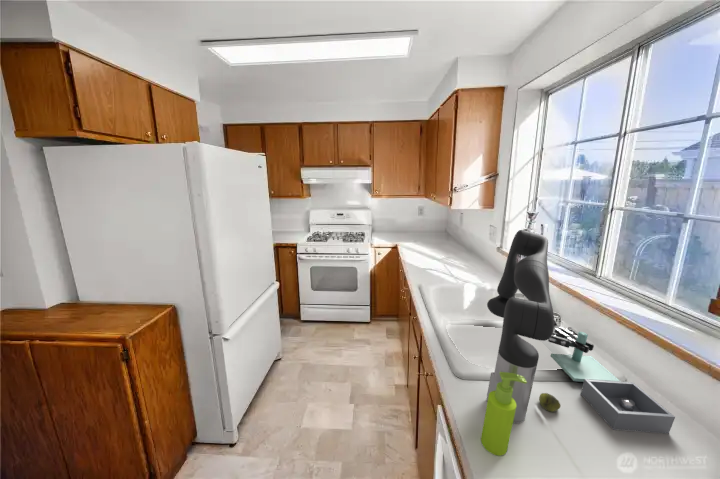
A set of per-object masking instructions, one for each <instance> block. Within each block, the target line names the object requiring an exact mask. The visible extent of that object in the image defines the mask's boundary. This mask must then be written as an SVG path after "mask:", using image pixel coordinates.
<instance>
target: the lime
mask: <svg viewBox="0 0 720 479" xmlns="http://www.w3.org/2000/svg"><path fill="white" fill-rule="evenodd" d="M538 401H539V404H540V406H541V407H542V409H544V410H546V411H548V412H551V413H552V412H553V413H554V412H557V411H559V409H560V408H561V403H560V401H559V400H558V399H557V398H556V397H555V396H554V395H553V394H550V393H547V392H545V393H543V392H542V393H540V394H539V397H538Z"/></svg>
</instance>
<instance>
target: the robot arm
mask: <svg viewBox="0 0 720 479" xmlns="http://www.w3.org/2000/svg"><path fill="white" fill-rule="evenodd" d="M548 250H549V240H548V238H547V236H545V235H543V234H539V233H536V232H533V231H528V230H524V229H520V230H518V231H516V233H515V235H514V236H513V239H512V241H511V245H510V247H509V251H508V254H507V257H506V262H505V266H504V271H503V274H502V275H501V279H500V280H499V283H498V286H497V288H496V292H497V294H498V295H497V296H495V297H492V298H490V299H489V300H488V301H487V302H486V303H487V304H486V305H487V308H488V310H489V312H490V313H492V314H493V315H494V316H497V317H500V318H503V320H502V321H503V322H502V330H501V334H500V335H501V337H500V341H499V346H498V351H497V355H496V362H495V367H494V372H493V371H492V372H490V376H489V382H488V387H487V394H486V402H488V396H489V393H490V392H491V391H496V386H497V383H499V382H502V379H501V377H500V374H499V373H500V372H508V373H514V374H518V375H521V376H523V377H525V379H526V381H527V383H526V384H524V383H521V382H517V381H510V386H511V387H512V389H513V393H512V398H513V399H514V400H515V402H516V411H515V415H514V420H513V424H520V423H522V422H524V421H525V419H526V415H527V412H528V407H529V403H530V397H531V395H532V394H531V393H532V389H533V383H534V380H535V377H536V371H537V367H538V362H539V358H540V357H539V351H538V349H536V347H535V346H534V345H532V344H531V343H529V341H527V340H525V339H524V338H522V337H525V338H528V339H532V340H537V341H543V342H544V341H547V342H549V343H550V344H551V343H552V344H554V345H557V346H561V347H564V348H567V349H569V348H570V347H571V348H577V349H579V350H581V351H583V353H584V354H588V353H589V351H591V352H592V351H594V347H595V345H594V344H593V343H591V342H589V341H587V340H586V344H585V345H584V344H582V343H580V342H578V341H576V340H577V336H578V332H579V331H577V330H575V329H574V328H573V327H571V326H568V328H565V327H562V326H560V325H558V324H557V321H556V320H555V316H554V315H555V314H554V309H553V305H552V300H551V296H550V274H549V268H548V266H549V265H548V253H549V252H548ZM518 255H519V256H522V257H523V258H522V259H520V260H519V261H518V260H517V258H518ZM517 261H518V262H517ZM518 290H519V292H520V293H521V294H522V295H523V296H524V297H525V298H526V299H525V298H524V299H523V298H521V297H516V294H517V292H518Z"/></svg>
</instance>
